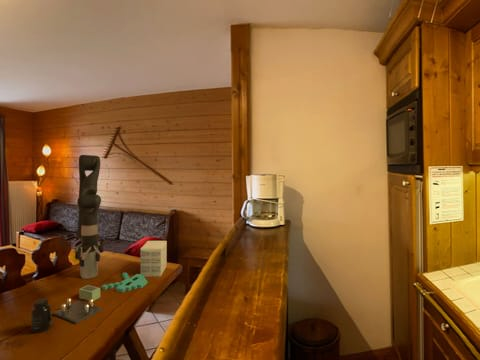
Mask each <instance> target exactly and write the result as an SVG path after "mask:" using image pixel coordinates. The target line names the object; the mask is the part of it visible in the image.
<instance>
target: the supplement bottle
mask: <svg viewBox="0 0 480 360" xmlns="http://www.w3.org/2000/svg"><path fill="white" fill-rule="evenodd" d="M30 325H31V327H30V328H31V331H32V333H35V334H39V333H43V332H45V331H47V330H49V329H50V328H51V326H52V307H51V305H50V304H49V302H48V298H46V297H45V298H43V297H42V298H39V299H36V300H34V302H33V308H32V309H31V311H30Z"/></svg>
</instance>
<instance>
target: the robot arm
mask: <svg viewBox="0 0 480 360" xmlns="http://www.w3.org/2000/svg"><path fill="white" fill-rule="evenodd" d="M78 157H79V158H78V175H79V176H78V177H79V178H78V179H79V180H78V182H79V183H78V184H79V185H78V197H77V198H78V199H77V202H76V204H77V207H78V221H77V237H78V238H79V239H80V240H81V241H80V243H81V245H80V246H77V247H75V251H74V259H75V260H78V263H79V264H78V265H79V276H80V277H81V279H84V280H85V279H86V280H87V279H91V278H95V277H97V276H98V275H99V262H100V260H101V253H103V252H104V241H103V240H99V226H98V214H99V213H98V212H99V209H100V206H101V204H102V198H101V196H100V195H98V194H97V193H98V180H99V175H100V170H101V159H100V156H99V155H95V154H94V155H91V154H90V155H89V154H81V155H79V156H78ZM87 171H88V172H90V173H89V174H88V175H87V174H86V172H87Z"/></svg>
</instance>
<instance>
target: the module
mask: <svg viewBox="0 0 480 360" xmlns="http://www.w3.org/2000/svg"><path fill="white" fill-rule="evenodd" d="M78 291H79V293H78V294H79V296H78V298H79V299H81V300H84V299H85V300H84V301H88V302H89V299H93V302H94V301H96V300H98V299H100V298H101V287H97V286H93V285H89V284H87V285H85V286H83V287H81V288H79V289H78Z"/></svg>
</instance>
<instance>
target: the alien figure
mask: <svg viewBox="0 0 480 360" xmlns="http://www.w3.org/2000/svg"><path fill="white" fill-rule="evenodd" d="M121 277H122V279H123V280H122V281H120V282H118V281H116V282H115V283H109V284H103V285H101V290H103V291H106V290H107V289H110V290H111V289H113V288H115V291H116V292H118V293H119V292H120V293H125V292H126V291H128V292H130V291H131V290H136V289H142V288H143V287H145V285H147V284H148V280H147V279H146V278H145V277H146V276H143V275H142V274H141V273H136V274H135V275H133V276H132V277H130V276H129V274H128V273H127V272H123V273H122V274H121Z"/></svg>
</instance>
